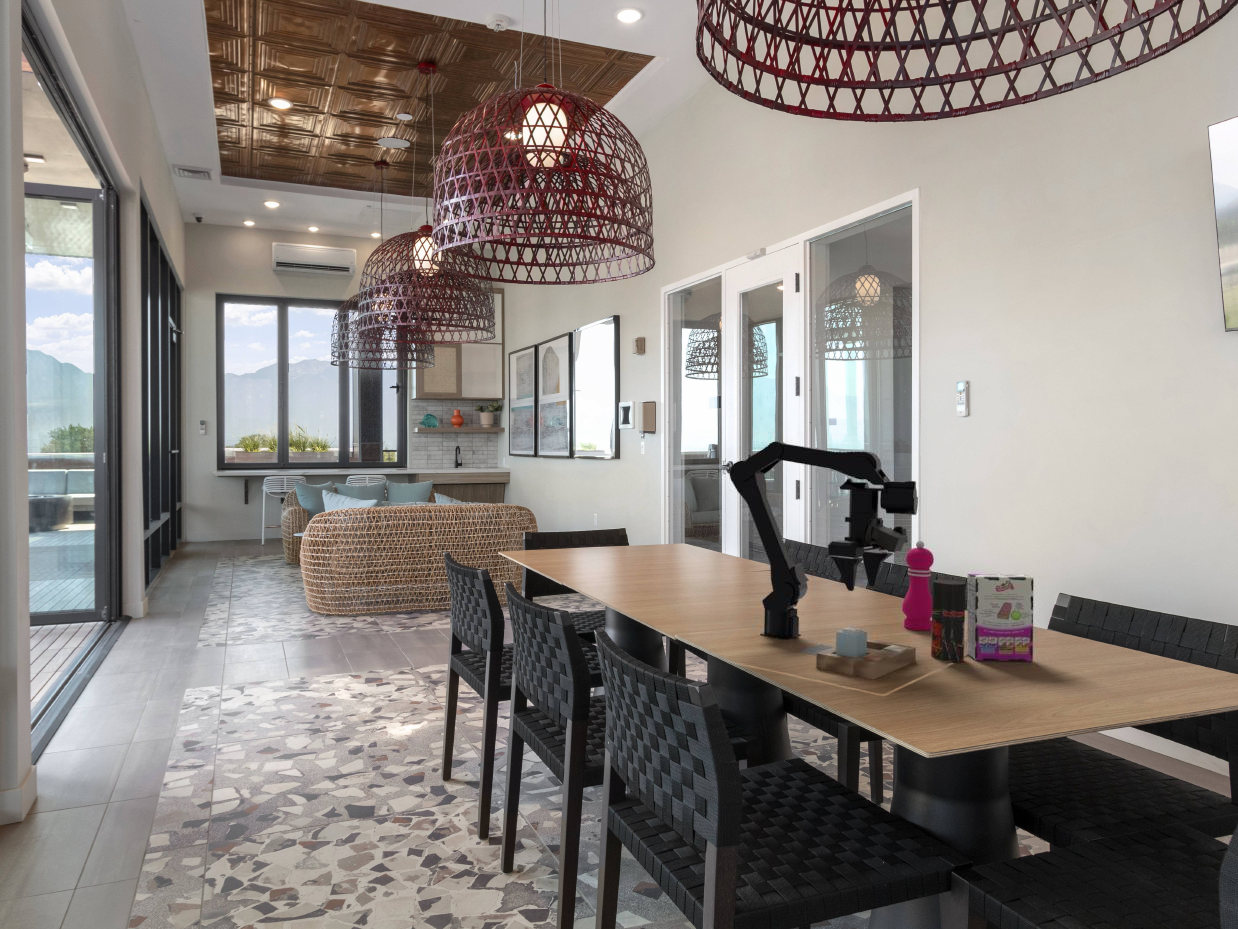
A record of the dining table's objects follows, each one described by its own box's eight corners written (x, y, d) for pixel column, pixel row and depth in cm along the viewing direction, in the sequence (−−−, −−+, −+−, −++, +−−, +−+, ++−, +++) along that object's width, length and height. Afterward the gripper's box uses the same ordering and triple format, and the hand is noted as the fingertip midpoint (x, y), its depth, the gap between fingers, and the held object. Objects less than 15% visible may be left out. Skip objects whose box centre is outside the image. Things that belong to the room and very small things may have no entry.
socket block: (816, 669, 151) (816, 651, 151) (861, 653, 165) (861, 636, 165) (873, 681, 144) (873, 662, 144) (915, 663, 157) (915, 646, 157)
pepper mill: (939, 631, 187) (941, 542, 187) (907, 630, 187) (909, 542, 187) (928, 624, 194) (930, 539, 194) (897, 624, 194) (899, 538, 194)
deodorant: (966, 663, 158) (968, 585, 158) (933, 661, 159) (935, 583, 159) (960, 656, 164) (962, 580, 164) (928, 654, 165) (930, 579, 165)
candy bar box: (1021, 656, 165) (1023, 573, 165) (1033, 662, 160) (1035, 577, 160) (964, 654, 165) (966, 572, 165) (974, 661, 160) (976, 576, 160)
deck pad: (798, 653, 164) (798, 651, 163) (821, 646, 170) (821, 644, 170) (840, 662, 157) (840, 659, 157) (862, 654, 164) (862, 652, 164)
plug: (835, 669, 152) (836, 628, 152) (845, 666, 155) (846, 625, 155) (855, 674, 149) (856, 632, 149) (866, 670, 152) (867, 628, 152)
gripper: (879, 517, 158) (877, 599, 158) (921, 513, 171) (919, 588, 172) (826, 513, 166) (825, 591, 166) (870, 510, 179) (869, 582, 179)
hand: (861, 588), depth 171 cm, fingers open, 9 cm apart
